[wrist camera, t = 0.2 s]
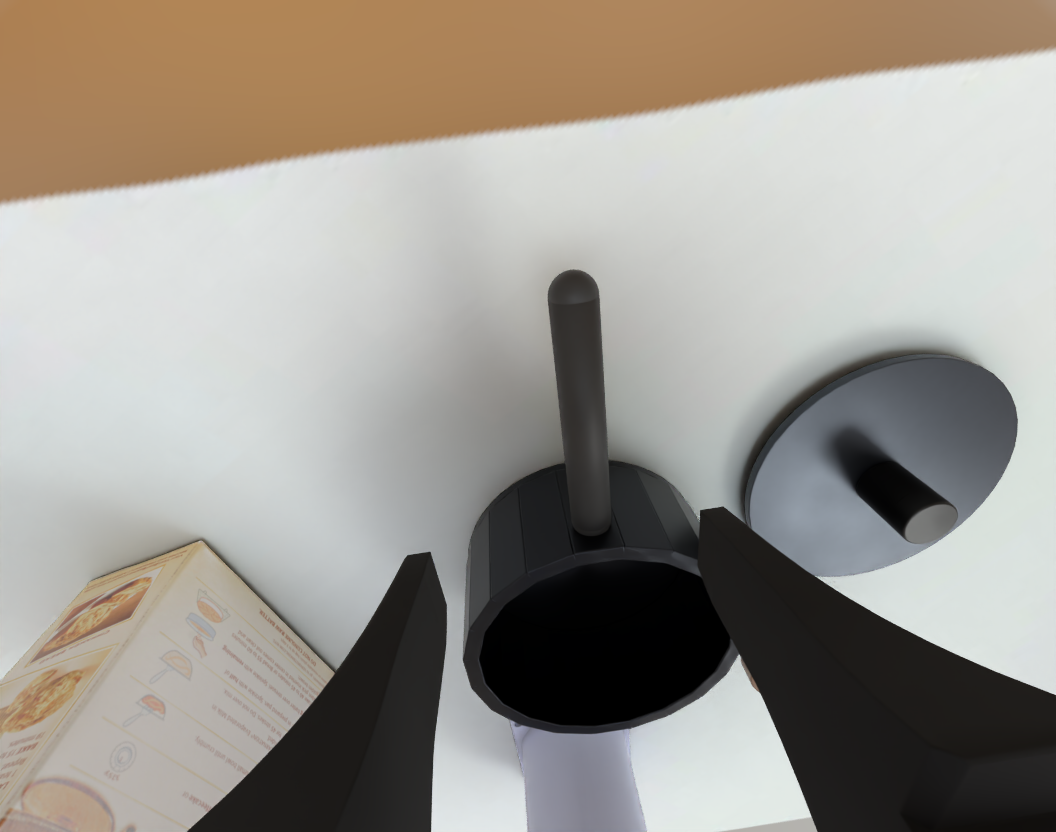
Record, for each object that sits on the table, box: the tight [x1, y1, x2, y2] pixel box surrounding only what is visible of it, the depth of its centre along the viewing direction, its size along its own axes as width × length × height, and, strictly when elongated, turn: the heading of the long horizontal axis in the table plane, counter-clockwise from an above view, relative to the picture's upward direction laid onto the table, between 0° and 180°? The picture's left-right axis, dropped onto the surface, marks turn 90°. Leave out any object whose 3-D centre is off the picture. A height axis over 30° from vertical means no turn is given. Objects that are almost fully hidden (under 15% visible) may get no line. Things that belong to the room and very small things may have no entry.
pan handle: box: [548, 270, 611, 536], centre depth 17 cm, size 11×2×2 cm, turn 7°
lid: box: [745, 354, 1018, 577], centre depth 24 cm, size 13×13×4 cm
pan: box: [463, 460, 739, 734], centre depth 24 cm, size 12×12×6 cm
